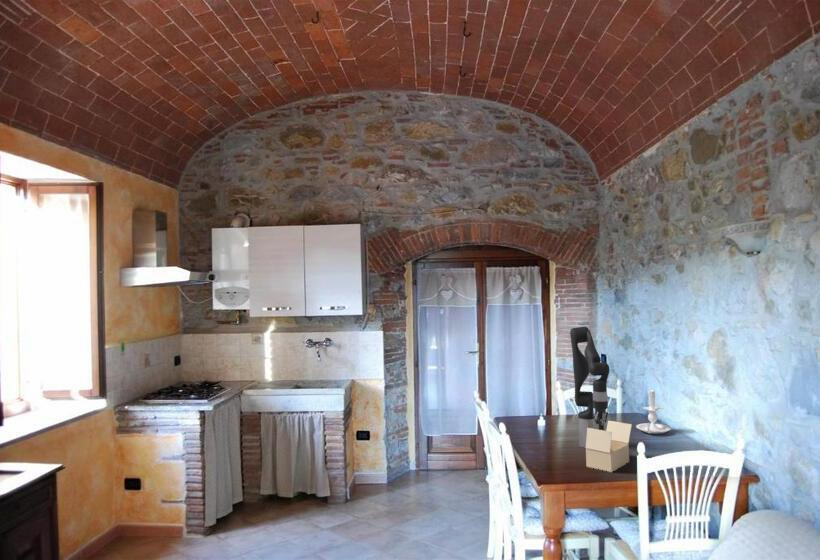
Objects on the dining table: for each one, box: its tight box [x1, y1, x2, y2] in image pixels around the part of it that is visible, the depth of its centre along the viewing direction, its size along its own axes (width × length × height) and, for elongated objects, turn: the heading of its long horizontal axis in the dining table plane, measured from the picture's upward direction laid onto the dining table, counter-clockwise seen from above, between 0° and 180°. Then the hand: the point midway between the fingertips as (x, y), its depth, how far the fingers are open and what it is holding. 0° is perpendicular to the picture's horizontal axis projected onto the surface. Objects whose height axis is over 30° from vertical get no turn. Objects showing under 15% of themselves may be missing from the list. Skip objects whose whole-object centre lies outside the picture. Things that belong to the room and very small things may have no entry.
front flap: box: [585, 428, 612, 453], centre depth 281 cm, size 11×14×1 cm
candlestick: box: [635, 389, 671, 435], centre depth 343 cm, size 21×25×28 cm
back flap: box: [605, 420, 633, 445], centre depth 297 cm, size 11×14×1 cm
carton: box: [585, 441, 630, 474], centre depth 287 cm, size 22×14×10 cm, turn 134°
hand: (601, 431), depth 283 cm, fingers closed
